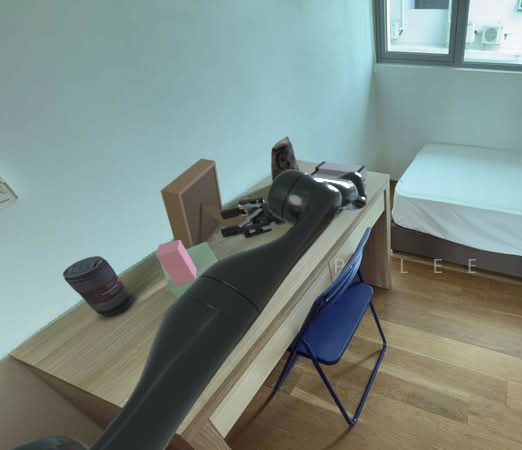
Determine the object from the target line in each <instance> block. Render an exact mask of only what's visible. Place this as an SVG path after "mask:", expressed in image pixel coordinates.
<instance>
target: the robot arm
mask: <svg viewBox="0 0 522 450" xmlns="http://www.w3.org/2000/svg"><path fill="white" fill-rule="evenodd" d="M310 174H311V173H310ZM310 174H309V173H307V172H305V171H302V170H300V169H299V170H287V171H284V172H282V173H281V174H279V175H278V176H277V177H276V178H275V179H274V181H272V182H271V184H270V186H269V188H268V190H267V192H266V193H267V194H266V197H265V198H266V199H265V198H264V197H263V196H260V197H259V196H258V197H255V198H250V200H245V201H239V202H238V205H236V207H232V208H228V209H223V211H221V216H222V218H223V219H224V220H225V219H229V218H233V217H237V216H239V217H240V216H241V217H246V218H245V220H244V222H242V223H241V224H239V225H238V224H237V225H234V226H230V227H226V226H225V227H222V228H221V229H220V233H221V236H222V238H225V239H226V238H230V237H234V236H237V235H238V236H239V235H242V236H244V238H245V239H251V238H254V237H257V236H260V235H262V234H266V233H270V232H272V231H273V228H272V224H273V223H275V225H277V226H281V225H286V224H289V225H291V227H290V228H289V229H288V230H286V231H285V232H284V233H282V235H280V236H278V237H276V238H275V239H273V240H271V241H268V242H266V243H263V244H260V245H257V246H254V247H252V248H249V249H246V250H243V251H241V252H237V253H235V254H232V255H230V256H227V257H224V258H222V259H220V260H217V261H218V262H216V263H215V264H213V265H211V266H210V267H208V268H207V269H206V270H205V271H204V272H203V273H202V274H201V275H200V276H199V277H198V278H197V279H196V280H195V281H194V282H193V283H192V284H191V285H190V286H189V287H188V288H187V289H186V290H185V291H184V292H183V293H182V294H181V295H180V296H179V297H178V298H176V300H175V301H174V302H173V303H172V304H171V306H170V307H169V308H168V309H167V311H166V312H165V313H164V316H163V317H162V319H161V321H160V324H159V326H158V328H157V331H156V333H155V336H154V338H153V341H152V344H151V347H150V350H149V352H148V355H147V358H146V361H145V364H144V367H143V370H142V372H141V375H140V377H139V379H138V382H137V383H136V386H135V387H134V389H133V391H132V393H131V394H130V396H129V397H128V399H127V400H126V402H125V403H124V405H123V406H122V407H121V409H120V410H119V411H118V413H117V414H116V415H115V417H114V418H113V419H112V421H111V422H110V423H109V424H108V425H107V426H106V428H105V429H104V430H103V431H102V433H101V434H100V435H99V436H98V437H97V438H96V440H95V441H94V442H93V443H92V444H91V446H90V445H89V444H87V442H84V441H83V440H81V439H78V438H76V437H74V436H69V435H50V436H43V437H39V438H36V439H32V440H29V441H25V442H23V443H21V444H19V445H16V446H14V447H12V448H10V449H9V450H166V448H167V447H168V445H169V444H170V442H171V441H172V440H173V437H174V436H175V434H176V433H177V431H178V429H179V428H180V427H181V425H182V423H183V422H184V420H185V419H186V417H187V415H188V414H189V413H190V411H191V410H192V408H193V407H194V406H195V404H196V402H197V401H198V400H199V399H200V397H201V395H202V394H203V393H204V391H205V390H206V388H207V387H208V386H209V384H211V383H210V382H211V381H212V380H213V379H214V377H215V376H216V375H217V372H219V370H220V369H221V367H222V366H223V365H224V363H225V362H226V361H227V359H228V357H230V355H231V354H232V353H233V351H234V350H235V349H236V348H237V346H238V345H239V344H240V343H241V341H242V340H244V338H245V336H246V335H247V333H248V332H249V331H250V329H251V328H252V327H253V326H254V324H255V323H256V321H257V320H258V319H259V318H260V316H261V314H262V313H263V311H264V310H265V308H266V307H267V306H268V305H269V303H270V301H271V300H272V298H273V297H274V296H275V294H276V293H277V292H278V290H279V288H280V287H281V286H282V284H283V283H284V282H285V281H286V279H287V277H288V276H289V275H290V274H291V272H292V271H293V269H295V267H296V266H297V264H298V263H299V262H300V260H301V259H302V258H303V257H304V256H305V255H306V254H307V253H308V252H309V250H311V248H312V247H313V246H314V245H315V244H316V242H317V241H318V240H319V239H320V238H321V237H322V235H323V234H324V233H325V232H326V231H327V229H328V228H329V227H330V225H331V224H332V223H333V221H334V220H335V218H336V217H337V216H338V214H339V213H338V211H339V209H341V208H343V209H342V210H346V211H349V212H350V211H351V212H353V211H360V210H362V209H363V208H365V207H366V206H367V204H368V194H367V191H366V188H365V184H364V182H363V180H362V177H361V175H360V174H359V173H357V172H354V171H350V172H347V173H344V174H343V175H341V176H339V177H337V178H336V179H325V178H318V177H314V176H312V175H310ZM245 204H246V205H245ZM337 213H338V214H337ZM271 223H272V224H271ZM245 226H246V227H245Z"/></svg>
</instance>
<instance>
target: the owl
mask: <svg viewBox="0 0 522 450" xmlns="http://www.w3.org/2000/svg"><path fill="white" fill-rule="evenodd" d="M270 153H271V154H270V158H271V159H270V160H271V161H270V170H271V171H270V172H271V181H272V182H273V181H274V179H275V178H276V177H277V176H278V175H279V174H281V173H282V172H284V171H287V170H299V171H300V167H299V164H298V162H297V159H296V155H295V151H294V147H293V143H292V142H291V140H290V138H289V135H288V136H285V137H284V138H281V139H280V140H279V141H277V142H276V143H275V144H274V145H273V146H272V147H271V152H270Z"/></svg>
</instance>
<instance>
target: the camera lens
mask: <svg viewBox="0 0 522 450" xmlns="http://www.w3.org/2000/svg"><path fill="white" fill-rule="evenodd" d="M62 276H63V278H64V281H65V282H66V283H67V284H68V285H69V286H70V287H71V288H72V289H73V290H74V291H75V292H76V293H77V294H79V296H80V297H81V298H82V299H83V300H84V301H85V302H86V304H87V305H88V306H89V307H90V308H91V309H92V310H93V311H94V312H96V313H97V314H99V315H101V316H103V317H104V318H114V317H117V316H120V315H121V314H124V313H125V312H126V311H127V310H129V309H130V308H131V307H132V305H133V304H134V300H133V297H132V293H131V292H130V290H129V288H128V287H127V285H126V284H125V283H124V282H123V281H122V280H121V278H120V277H118V275H117V273H116V272H115V270H114V268H113V267H112V265H111V264H110V263H109V262H108V260H106V259H104V257H102V256H99V255H95V256H89V257H86V258H83V259H79V260H78V261H76V262H74V263H72V264H71V265H70V266H68V267H67V268H66V269H64V271H63V272H62Z"/></svg>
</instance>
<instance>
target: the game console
mask: <svg viewBox="0 0 522 450" xmlns="http://www.w3.org/2000/svg"><path fill="white" fill-rule="evenodd" d="M314 169H315V170H314V171H313V172H311V173H310V175H312V176H314V177H318V178H325V179H336V178H337V177H339V176H341V175H343V174H344V173H347V172H350V171H354V172H357V173H359V174H360V175H361V177H362V180H363V183H364V182H365V181H366V178H367V177H368V174H367V166H366V165H358V164H348V163H340V162H333V161H322V162H320V163H318V165H317V166H315V167H314ZM342 210H344V209H343V208H341V209H339V211H338V213H337V215H338V214H339V213H340V212H341V211H342Z"/></svg>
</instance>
